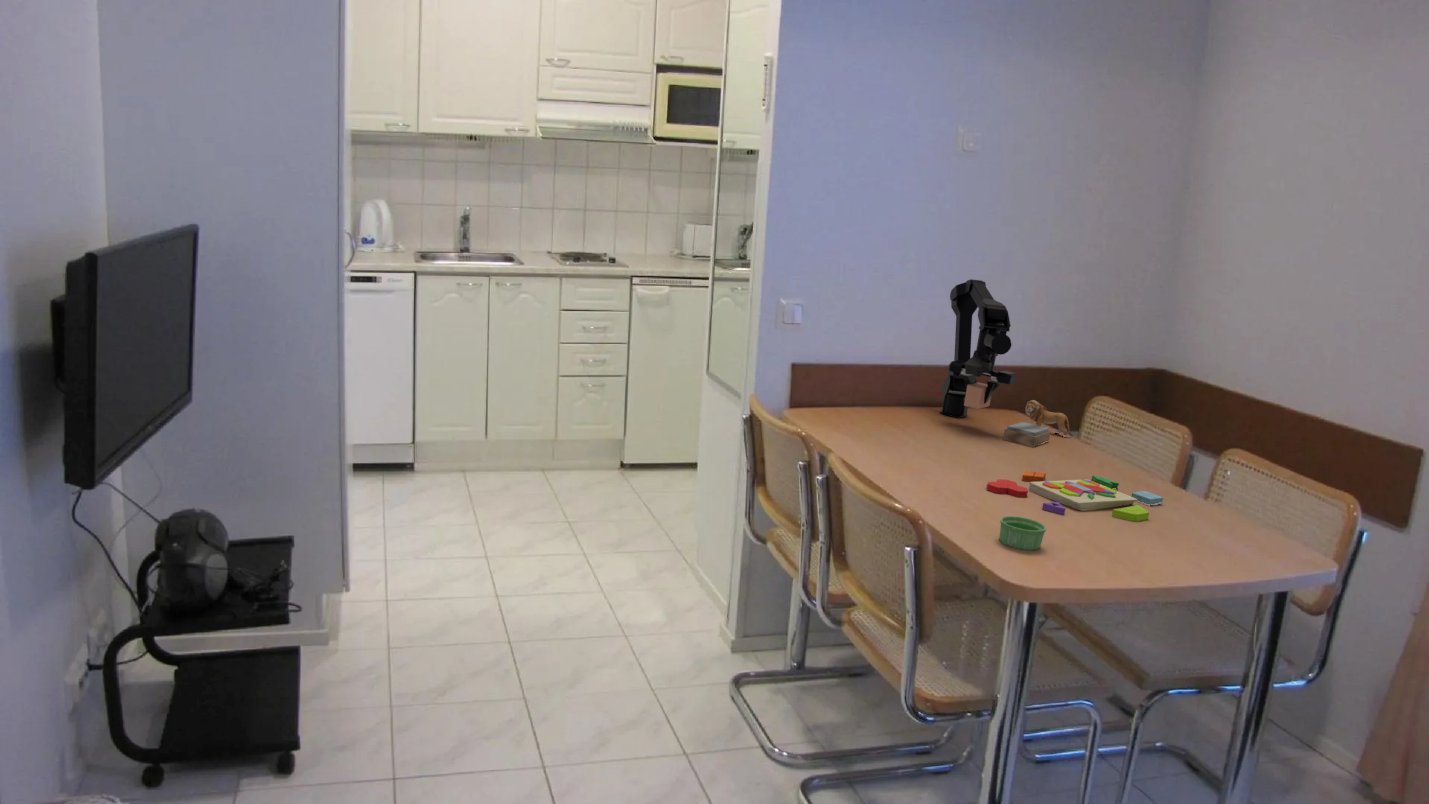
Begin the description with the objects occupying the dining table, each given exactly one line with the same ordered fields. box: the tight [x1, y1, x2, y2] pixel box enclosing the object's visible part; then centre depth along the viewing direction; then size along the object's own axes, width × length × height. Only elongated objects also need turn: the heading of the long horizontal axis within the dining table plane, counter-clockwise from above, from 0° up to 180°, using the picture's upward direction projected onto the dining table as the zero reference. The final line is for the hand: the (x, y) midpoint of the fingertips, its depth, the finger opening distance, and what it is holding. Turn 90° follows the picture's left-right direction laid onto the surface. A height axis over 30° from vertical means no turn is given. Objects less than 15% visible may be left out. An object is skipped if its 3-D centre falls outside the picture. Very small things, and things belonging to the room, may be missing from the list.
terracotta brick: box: [964, 382, 992, 410], centre depth 330 cm, size 4×8×6 cm, turn 144°
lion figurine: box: [1024, 399, 1074, 437], centre depth 340 cm, size 15×5×9 cm, turn 72°
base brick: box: [1002, 421, 1051, 448], centre depth 326 cm, size 9×12×4 cm
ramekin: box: [999, 515, 1047, 551], centre depth 231 cm, size 9×9×4 cm
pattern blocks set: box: [986, 470, 1164, 523], centre depth 272 cm, size 38×34×3 cm
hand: (977, 401), depth 330 cm, fingers closed on terracotta brick, 4 cm apart
